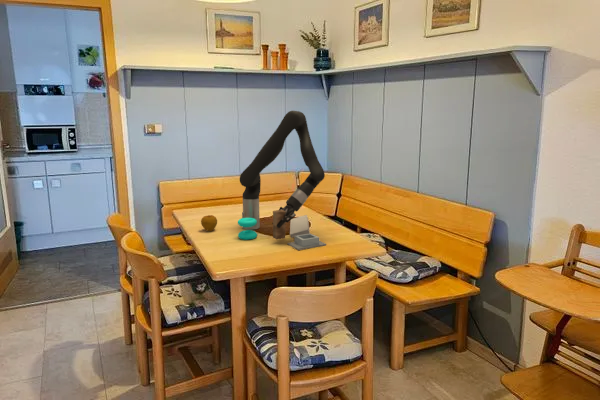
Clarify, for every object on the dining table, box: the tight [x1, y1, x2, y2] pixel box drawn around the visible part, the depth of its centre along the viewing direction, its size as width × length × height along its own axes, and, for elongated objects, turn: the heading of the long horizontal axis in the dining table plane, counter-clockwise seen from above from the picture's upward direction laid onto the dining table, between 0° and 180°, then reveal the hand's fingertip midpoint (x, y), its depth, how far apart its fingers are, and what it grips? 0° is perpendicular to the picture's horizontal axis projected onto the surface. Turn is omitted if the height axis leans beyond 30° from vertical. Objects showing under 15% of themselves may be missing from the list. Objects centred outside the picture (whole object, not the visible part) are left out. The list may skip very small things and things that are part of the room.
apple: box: [200, 214, 218, 232], centre depth 254 cm, size 9×9×9 cm
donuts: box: [237, 217, 258, 241], centre depth 240 cm, size 10×10×10 cm
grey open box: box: [287, 232, 327, 251], centre depth 228 cm, size 16×11×4 cm
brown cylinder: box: [272, 209, 287, 240], centre depth 231 cm, size 5×4×14 cm
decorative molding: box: [289, 214, 311, 239], centre depth 258 cm, size 34×5×10 cm
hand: (275, 225), depth 230 cm, fingers closed on brown cylinder, 4 cm apart
